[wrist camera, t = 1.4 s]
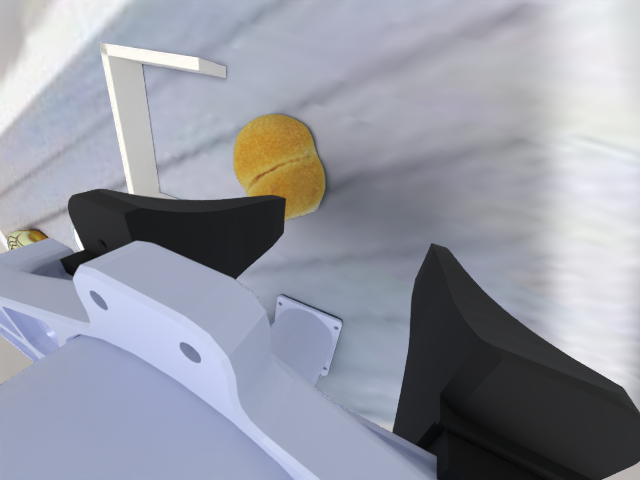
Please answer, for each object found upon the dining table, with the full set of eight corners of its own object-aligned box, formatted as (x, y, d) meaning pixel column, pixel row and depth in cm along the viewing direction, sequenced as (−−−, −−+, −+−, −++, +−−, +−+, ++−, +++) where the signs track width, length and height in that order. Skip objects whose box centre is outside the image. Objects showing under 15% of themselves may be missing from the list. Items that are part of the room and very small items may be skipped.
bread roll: (301, 97, 20) (275, 89, 16) (340, 201, 22) (325, 213, 18) (231, 140, 23) (198, 141, 20) (270, 225, 26) (246, 239, 22)
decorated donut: (73, 264, 46) (47, 274, 43) (60, 281, 51) (36, 291, 48) (35, 217, 44) (5, 224, 41) (25, 240, 50) (-3, 247, 46)
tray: (227, 222, 27) (207, 231, 25) (155, 197, 30) (130, 203, 27) (226, 67, 21) (198, 57, 18) (134, 52, 23) (98, 42, 21)
